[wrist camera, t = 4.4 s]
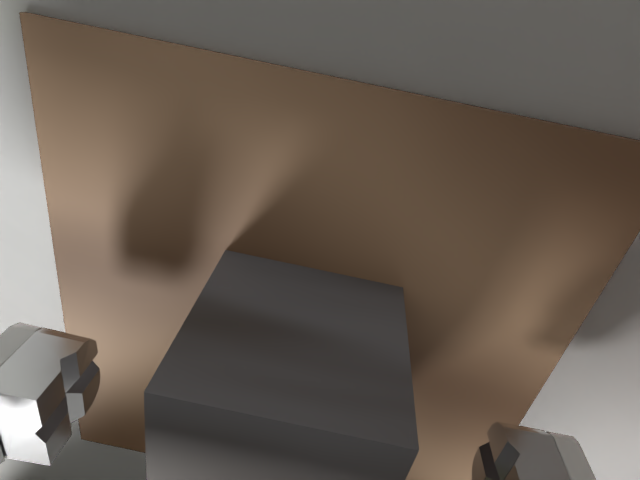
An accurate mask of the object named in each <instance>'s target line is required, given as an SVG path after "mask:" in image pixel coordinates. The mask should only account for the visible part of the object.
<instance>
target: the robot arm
mask: <svg viewBox="0 0 640 480" xmlns="http://www.w3.org/2000/svg"><path fill="white" fill-rule="evenodd" d="M97 354H98V349H97V343H96V341H95V340H93V339H90V338H86V337H82V336H77V335H73V334H69V333H64V332H60V331H56V330H52V329H47V328H42V327H37V326H33V325H28V324H24V323H17V324H14V325H12V326H10V327H9V328H7V329H6V330H5V331H4V332H3V333H2V334H1V335H0V464H1V463H2V462H4V461H5V459H4V458H8V459H14V460H19V461H25V462H31V463H36V464H42V465H48V466H51V464H52V463H53V461H54V460H55V458H56V457H57V455H58V454H59V453H60V451H61V450H62V448H63V447H64V445H65V444H66V442H67V441H68V439H69V438H70V437H71V435H72V433H71V423H72V422H74V421H76V420H77V419H79V418H81V417H83V416H85V414H86V413H87V411H88V410H89V408H90V407H91V405H92V404H93V402H94V399H95V397H96V394H97V392H98V389H99V385H100V378H101V377H100V368H99V367H98V366H97V365H96V364H95V363H94V361H93V359H94V358H95V356H96V355H97ZM487 435H488V439H489V442H488V443H486V444H484V445H482V446H480V447H479V448H478V450H477V452H476V454H475V456H474V459H473V465H472V480H596V478H595V476H594V474H593V472H592V470H591V467H590V465H589V463H588V461H587V459H586V457H585V455H584V452H583V450H582V448H581V446H580V444H579V442H578V441H577V440H576V439H575V438H574V437H572V436H567V435H562V434H558V433H553V432H545V431H544V430H539V429H534V428H528V427H523V426H518V425H513V424H508V423H502V422H495V423H494V424H492V425H491V427H490V428H489V430H488V432H487Z"/></svg>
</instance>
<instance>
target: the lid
mask: <svg viewBox="0 0 640 480" xmlns="http://www.w3.org/2000/svg"><path fill="white" fill-rule="evenodd" d="M19 14H20V21H21V27H22V34H23V41H24V48H25V55H26V62H27V69H28V76H29V83H30V89H31V96H32V103H33V110H34V117H35V124H36V131H37V138H38V145H39V151H40V158H41V165H42V172H43V179H44V186H45V193H46V200H47V207H48V213H49V220H50V227H51V234H52V241H53V248H54V255H55V262H56V269H57V275H58V282H59V289H60V296H61V303H62V310H63V317H64V324H65V331H66V333H69V334H73V335H77V336H82V337H86V338H90V339H93V340H95V341H96V343H97V349H98V354H97V355H96V356H95V358H94V359H93V361H94V363H95V364H96V365H97V366H98V367H99V368H100V377H101V378H100V385H99V389H98V392H97V394H96V397H95V399H94V402H93V404H92V405H91V407H90V408H89V410H88V411H87V413H86V414H85V416H83V417H81V418H79V419H78V420H79V427H80V434H81V439H83V440H87V441H92V442H97V443H102V444H106V445H111V446H116V447H120V448H125V449H130V450H135V451H139V452H144V453H146V480H472V465H473V459H474V456H475V454H476V452H477V450H478V448H479V447H480V446H482V445H484V444H486V443H488V442H489V439H488V435H487V432H488V430H489V428H490V427H491V425H492V424H494V423H495V422H502V423H508V424H513V425H519V424H520V422H521V420H522V419H523V417H524V416H525V414H526V412H527V411H528V409H529V408H530V406H531V404H532V403H533V401H534V400H535V398H536V396H537V395H538V393H539V392H540V390H541V388H542V387H543V385H544V384H545V382H546V380H547V379H548V377H549V376H550V374H551V372H552V371H553V369H554V368H555V366H556V364H557V363H558V361H559V360H560V358H561V356H562V355H563V353H564V352H565V350H566V348H567V347H568V345H569V343H570V342H571V340H572V339H573V337H574V335H575V334H576V332H577V331H578V329H579V327H580V326H581V324H582V323H583V321H584V319H585V318H586V316H587V315H588V313H589V311H590V310H591V308H592V307H593V305H594V303H595V302H596V300H597V299H598V297H599V295H600V294H601V292H602V291H603V289H604V287H605V286H606V284H607V283H608V281H609V279H610V278H611V276H612V275H613V273H614V271H615V270H616V268H617V267H618V265H619V263H620V262H621V260H622V259H623V257H624V255H625V254H626V252H627V251H628V249H629V247H630V246H631V244H632V242H633V241H634V239H635V238H636V236H637V234H638V233H639V231H640V140H635V139H630V138H626V137H621V136H616V135H611V134H607V133H602V132H597V131H592V130H587V129H583V128H578V127H573V126H568V125H563V124H559V123H554V122H549V121H544V120H539V119H535V118H530V117H525V116H520V115H516V114H511V113H506V112H501V111H496V110H492V109H487V108H482V107H477V106H472V105H468V104H463V103H458V102H453V101H448V100H444V99H439V98H434V97H429V96H425V95H420V94H415V93H410V92H405V91H401V90H396V89H391V88H386V87H381V86H377V85H372V84H367V83H362V82H358V81H353V80H348V79H343V78H338V77H334V76H329V75H324V74H319V73H314V72H310V71H305V70H300V69H295V68H290V67H286V66H281V65H276V64H271V63H267V62H262V61H257V60H252V59H247V58H243V57H238V56H233V55H228V54H223V53H219V52H214V51H209V50H204V49H199V48H195V47H190V46H185V45H180V44H176V43H171V42H166V41H161V40H156V39H152V38H147V37H142V36H137V35H132V34H128V33H123V32H118V31H113V30H109V29H104V28H99V27H94V26H89V25H85V24H80V23H75V22H70V21H65V20H61V19H56V18H51V17H46V16H41V15H37V14H32V13H27V12H20V13H19Z"/></svg>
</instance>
